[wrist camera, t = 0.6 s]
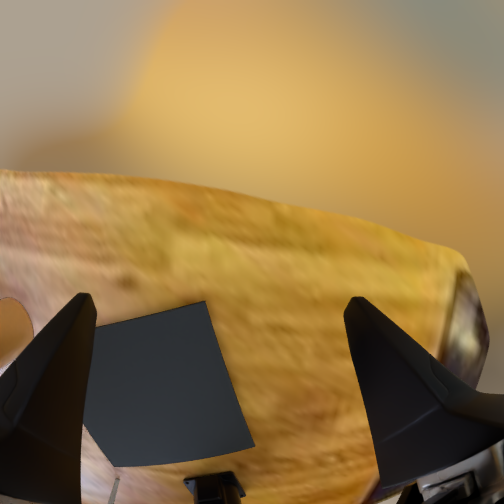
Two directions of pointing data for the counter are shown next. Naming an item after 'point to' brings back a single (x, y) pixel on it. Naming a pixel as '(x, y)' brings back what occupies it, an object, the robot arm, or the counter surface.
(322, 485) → the counter surface
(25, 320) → the jam jar
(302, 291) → the counter surface
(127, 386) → the mat
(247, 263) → the counter surface
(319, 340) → the counter surface
